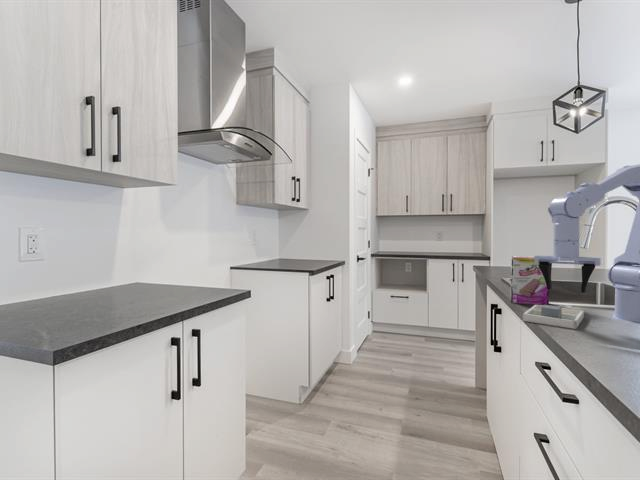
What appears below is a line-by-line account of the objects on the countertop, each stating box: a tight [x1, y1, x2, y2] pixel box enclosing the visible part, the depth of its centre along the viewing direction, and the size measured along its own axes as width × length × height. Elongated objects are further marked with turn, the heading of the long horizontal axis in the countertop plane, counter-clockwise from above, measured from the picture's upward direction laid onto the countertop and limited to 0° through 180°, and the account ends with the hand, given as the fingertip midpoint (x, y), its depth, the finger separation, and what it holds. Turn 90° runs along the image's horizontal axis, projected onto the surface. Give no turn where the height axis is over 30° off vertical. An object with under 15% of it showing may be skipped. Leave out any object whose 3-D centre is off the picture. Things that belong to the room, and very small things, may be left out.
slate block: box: [541, 305, 562, 319], centre depth 95 cm, size 4×4×4 cm
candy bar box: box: [510, 255, 550, 306], centre depth 117 cm, size 11×5×16 cm, turn 62°
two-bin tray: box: [522, 305, 585, 330], centre depth 97 cm, size 15×12×2 cm
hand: (565, 290), depth 94 cm, fingers open, 7 cm apart
